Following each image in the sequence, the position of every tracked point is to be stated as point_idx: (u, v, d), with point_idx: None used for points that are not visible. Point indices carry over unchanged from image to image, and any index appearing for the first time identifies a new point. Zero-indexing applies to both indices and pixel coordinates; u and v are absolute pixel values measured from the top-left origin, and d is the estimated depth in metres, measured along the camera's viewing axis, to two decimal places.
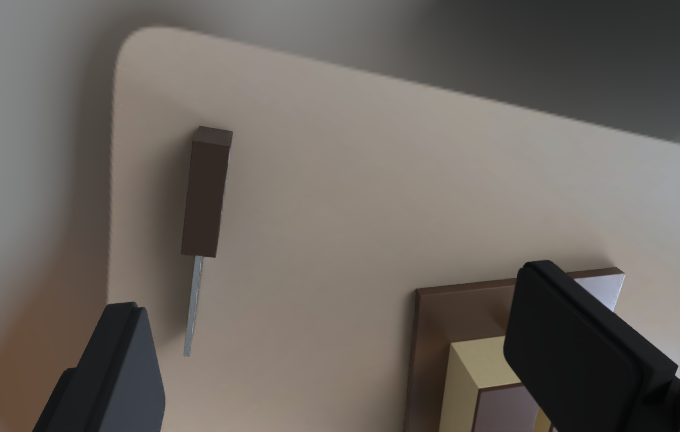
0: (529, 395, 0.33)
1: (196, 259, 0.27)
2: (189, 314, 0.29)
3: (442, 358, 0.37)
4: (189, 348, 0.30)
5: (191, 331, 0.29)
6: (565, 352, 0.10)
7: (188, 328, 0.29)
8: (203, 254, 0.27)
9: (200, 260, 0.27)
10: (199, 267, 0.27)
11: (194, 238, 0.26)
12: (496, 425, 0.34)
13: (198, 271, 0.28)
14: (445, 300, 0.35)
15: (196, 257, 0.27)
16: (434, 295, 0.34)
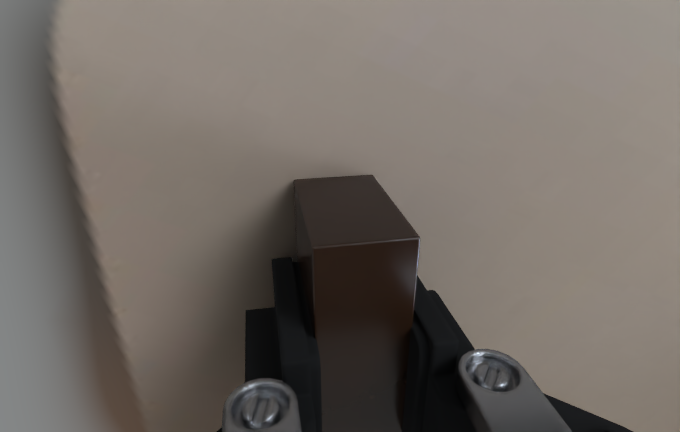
0: None
1: None
2: None
3: None
4: None
5: None
6: None
7: None
8: None
9: None
10: None
11: None
12: None
13: None
14: None
15: None
16: None
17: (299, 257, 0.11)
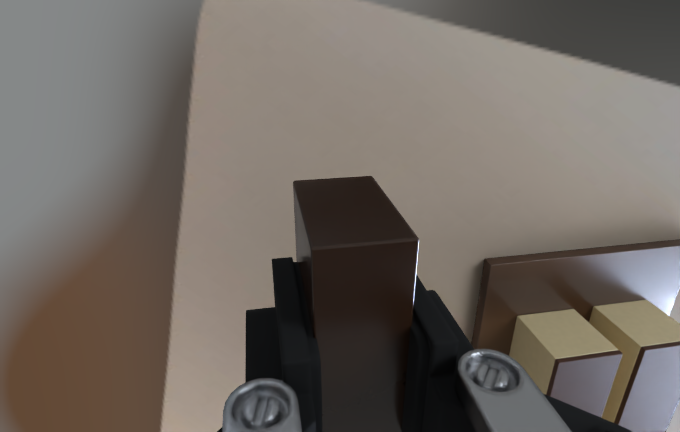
0: (606, 366, 0.32)
1: None
2: None
3: (507, 332, 0.36)
4: None
5: None
6: None
7: None
8: None
9: None
10: None
11: None
12: (570, 398, 0.33)
13: None
14: (515, 270, 0.34)
15: None
16: (505, 265, 0.33)
17: (299, 258, 0.11)
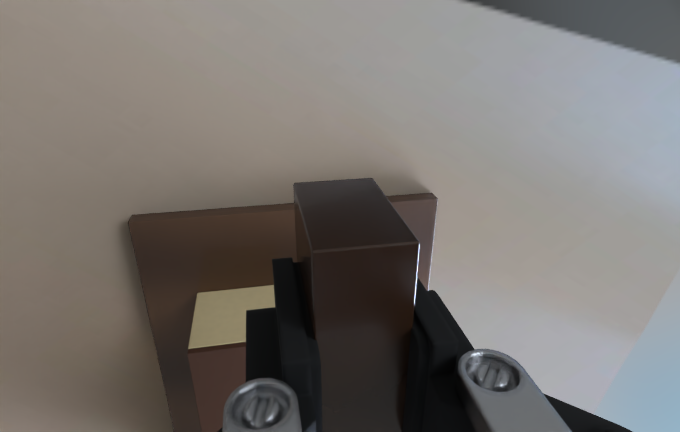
0: None
1: None
2: None
3: (191, 315, 0.28)
4: None
5: None
6: None
7: None
8: None
9: None
10: None
11: None
12: None
13: None
14: (170, 230, 0.25)
15: None
16: (151, 222, 0.25)
17: (299, 260, 0.11)
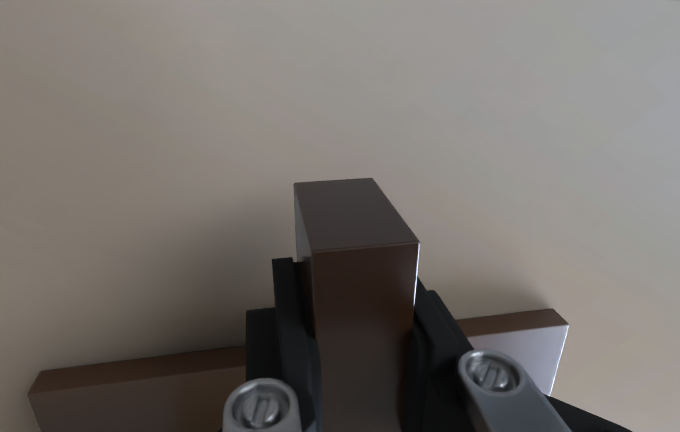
0: None
1: None
2: None
3: None
4: None
5: None
6: None
7: None
8: None
9: None
10: None
11: None
12: None
13: None
14: (107, 401, 0.14)
15: None
16: (71, 392, 0.13)
17: (299, 260, 0.11)
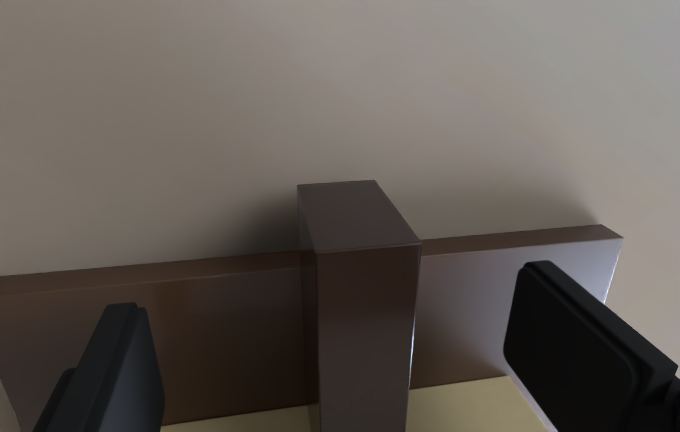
0: None
1: None
2: None
3: None
4: None
5: None
6: (565, 352, 0.10)
7: None
8: None
9: None
10: None
11: None
12: None
13: None
14: (68, 313, 0.11)
15: None
16: (22, 298, 0.11)
17: (302, 261, 0.11)
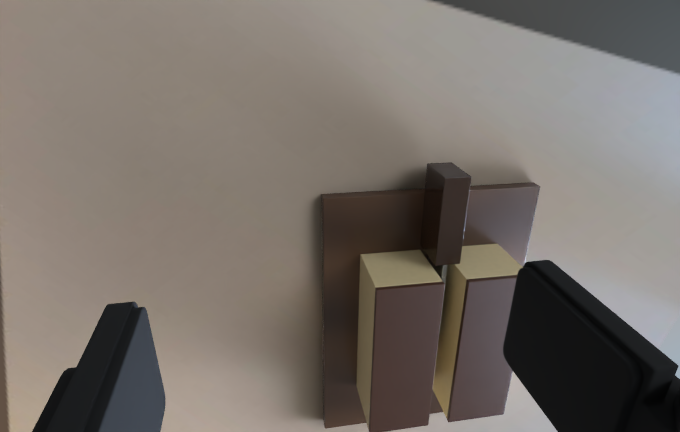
0: (429, 297, 0.32)
1: (443, 267, 0.34)
2: None
3: (353, 271, 0.37)
4: None
5: None
6: (565, 352, 0.10)
7: None
8: (451, 262, 0.34)
9: (446, 268, 0.34)
10: (445, 273, 0.35)
11: (445, 252, 0.33)
12: (397, 329, 0.33)
13: (445, 276, 0.35)
14: (350, 205, 0.34)
15: (443, 266, 0.34)
16: (338, 199, 0.34)
17: (429, 188, 0.34)
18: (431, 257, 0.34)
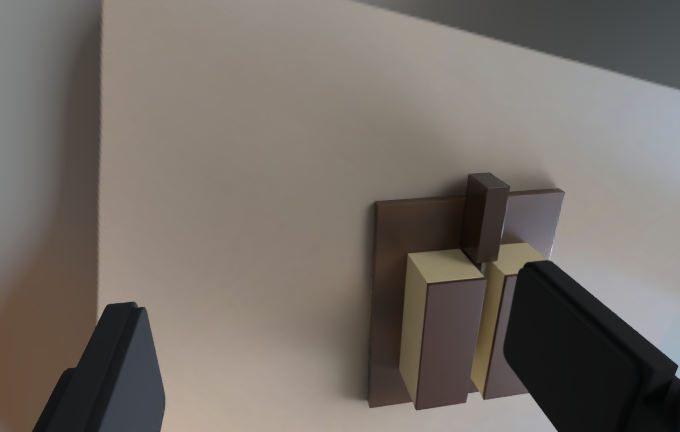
0: (473, 291, 0.37)
1: (483, 264, 0.39)
2: None
3: (401, 268, 0.42)
4: None
5: None
6: (565, 352, 0.10)
7: None
8: (490, 260, 0.39)
9: (485, 265, 0.39)
10: (484, 269, 0.40)
11: (485, 251, 0.38)
12: (444, 319, 0.38)
13: (483, 272, 0.40)
14: (401, 211, 0.39)
15: (483, 263, 0.39)
16: (391, 206, 0.39)
17: (470, 195, 0.39)
18: (472, 256, 0.39)
